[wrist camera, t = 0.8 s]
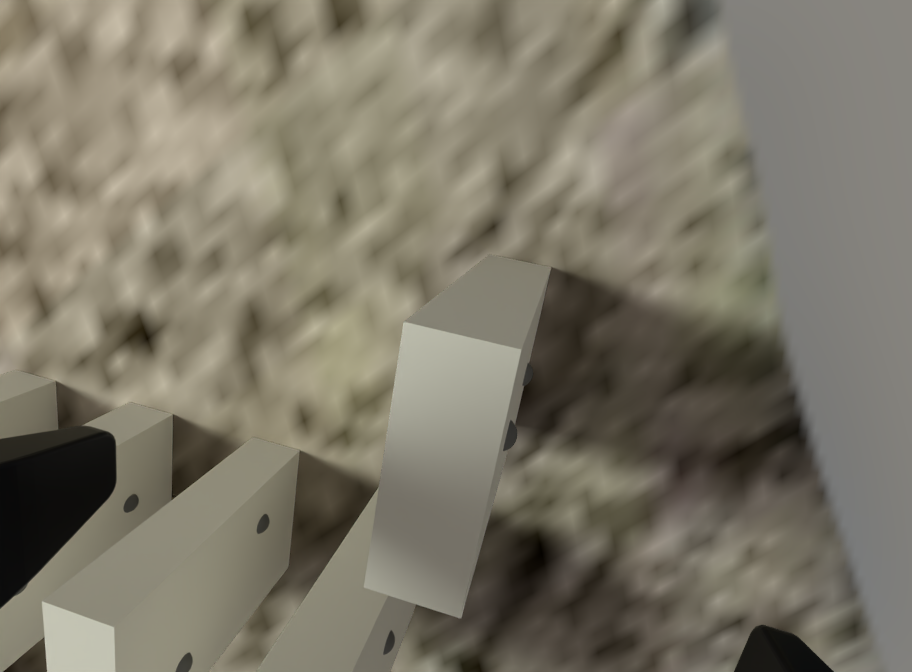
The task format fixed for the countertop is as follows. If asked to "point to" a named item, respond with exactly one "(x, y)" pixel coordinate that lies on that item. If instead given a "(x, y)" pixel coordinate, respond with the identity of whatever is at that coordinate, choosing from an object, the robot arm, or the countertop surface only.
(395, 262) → the countertop surface
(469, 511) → the domino
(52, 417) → the domino
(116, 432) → the domino
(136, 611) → the domino
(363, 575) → the domino
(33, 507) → the robot arm
